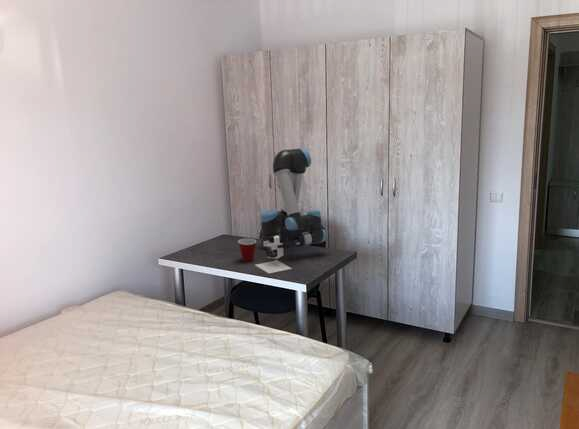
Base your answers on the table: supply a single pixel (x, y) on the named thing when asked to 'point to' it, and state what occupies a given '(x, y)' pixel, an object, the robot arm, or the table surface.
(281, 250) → the white blocky tower
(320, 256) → the table surface
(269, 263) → the paper
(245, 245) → the plastic cup
